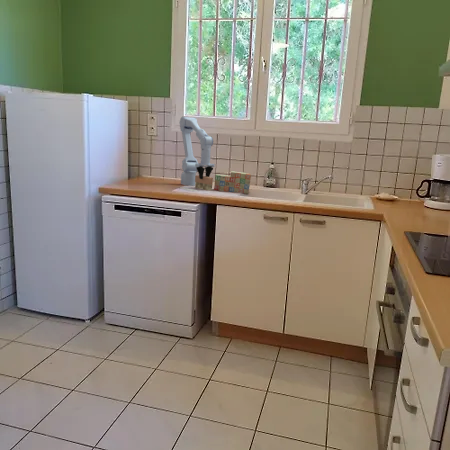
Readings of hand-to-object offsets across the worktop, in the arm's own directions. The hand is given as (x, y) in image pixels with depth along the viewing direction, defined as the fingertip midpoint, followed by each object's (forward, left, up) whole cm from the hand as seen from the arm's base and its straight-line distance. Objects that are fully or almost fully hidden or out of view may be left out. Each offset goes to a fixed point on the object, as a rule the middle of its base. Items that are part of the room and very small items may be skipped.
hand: (204, 178), depth 265 cm
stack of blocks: (+14, +11, -7) cm, 19 cm away
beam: (0, 0, -3) cm, 3 cm away
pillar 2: (+4, 0, -6) cm, 7 cm away
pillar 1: (-4, 0, -6) cm, 7 cm away
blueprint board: (0, -4, -7) cm, 8 cm away
